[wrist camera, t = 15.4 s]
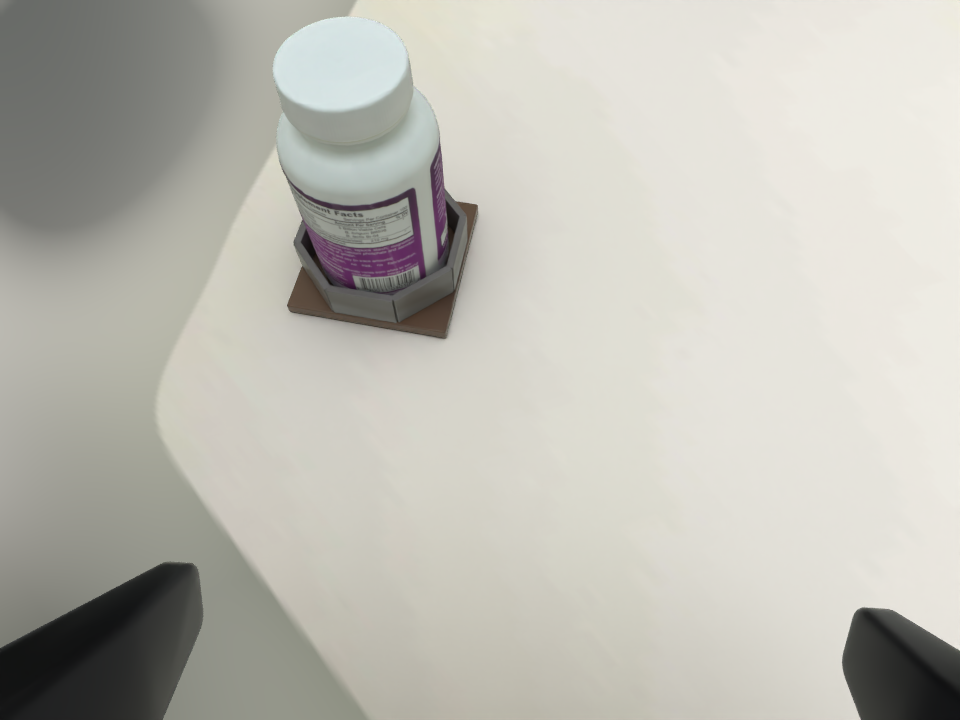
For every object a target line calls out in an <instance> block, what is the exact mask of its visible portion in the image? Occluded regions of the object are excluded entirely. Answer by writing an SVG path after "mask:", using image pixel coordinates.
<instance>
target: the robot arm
mask: <svg viewBox="0 0 960 720" xmlns="http://www.w3.org/2000/svg"><path fill="white" fill-rule="evenodd" d="M202 621H203V605H202V596H201V587H200V579H199V572H198V569H197V567H196V566H195V565H194V564H193V563H184V562H164V563H162V564H160V565H158V566H156V567H154V568H152V569H150V570H148V571H146V572H145V573H143V574H141V575H139V576H137V577H135V578H133V579H131V580H129V581H127V582H125V583H124V584H122V585H120V586H118V587H116V588H114V589H112V590H110V591H108V592H106V593H104V594H102V595H101V596H99V597H97V598H95V599H93V600H91V601H89V602H88V603H85V604H83V605H81V606H80V607H78V608H76V609H74V610H72V611H70V612H68V613H67V614H64V615H62V616H60V617H59V618H57V619H55V620H53V621H51V622H49V623H47V624H45V625H43V626H41V627H39V628H37V629H36V630H34V631H32V632H30V633H28V634H26V635H24V636H22V637H21V638H19V639H17V640H15V641H13V642H11V643H9V644H7V645H5V646H3V647H1V648H0V720H163V718H164V715H165V713H166V710H167V708H168V705H169V703H170V701H171V698H172V696H173V694H174V691H175V689H176V687H177V684H178V682H179V680H180V677H181V675H182V672H183V670H184V668H185V665H186V663H187V661H188V658H189V656H190V653H191V651H192V649H193V646H194V644H195V641H196V639H197V637H198V634H199V632H200V629H201V626H202ZM842 666H843V672H844V676H845V679H846V681H847V684H848V687H849V689H850V692H851V695H852V697H853V700H854V703H855V705H856V708H857V711H858V713H859V716H860V719H861V720H960V651H959V650H958V649H956V648H954V647H953V646H951V645H949V644H948V643H946V642H944V641H943V640H941V639H939V638H938V637H936V636H934V635H933V634H931V633H930V632H928V631H926V630H925V629H923V628H921V627H920V626H918V625H916V624H915V623H913V622H911V621H910V620H908V619H906V618H905V617H903V616H902V615H900V614H898V613H897V612H895V611H893V610H889V609H879V608H860V609H858V610H857V611H856V612H855V613H854V616H853V619H852V622H851V626H850V630H849V634H848V637H847V641H846V645H845V649H844V652H843V658H842Z"/></svg>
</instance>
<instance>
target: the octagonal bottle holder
mask: <svg viewBox="0 0 960 720" xmlns="http://www.w3.org/2000/svg"><path fill="white" fill-rule="evenodd" d="M444 191H445V202H446V213H447V226H448V239H449V252H448V258H447V261H446V264H445V267H443V268H441V269H440V270H438V271H436V272H434V273H432V274H430V275H429V276H427V277H425V278H423V279H421V280H420V281H418V282H416V283H414V284H412V285H410V286H409V287H407V288H405V289H403V290H401V291H399V292H398V293H396V294H394V295H392V296H391V295H385V294H379V293H373V292H367V291H361V290H355V289H349V288H343V287H337V286H334V285H333V284H332V283H331V282H330V280H329V279H328V277H327V275H326V274H325V272H324V270H323V268H322V265H321V263H320V261H319V258H318V256H317V254H316V251H315V249H314V247H313V244H312V242H311V239H310V237H309V234H308V232H307V229H306V227H305V224H304V221H303V220H302V222H301V225H300V227H299V230H298V232H297V235H296V237H295V240H294V247H295V249H296V251H297V254H298V256H299V258H300V261H301V263H302V268H301V270H300V273H299V276H298V278H297V281H296V283H295V286H294V289H293V291H292V294H291V296H290V299H289V302H288V304H287V307H288V308H289V310H290V311H291V312H296V313H302V314H308V315H314V316H319V317H325V318H331V319H337V320H343V321H348V322H354V323H360V324H366V325H372V326H377V327H383V328H389V329H395V330H401V331H406V332H412V333H418V334H424V335H430V336H435V337H441V338H446V336H447V332H448V329H449V325H450V321H451V317H452V313H453V309H454V305H455V301H456V297H457V293H458V289H459V285H460V281H461V277H462V273H463V269H464V265H465V261H466V257H467V253H468V249H469V245H470V241H471V237H472V233H473V229H474V225H475V221H476V217H477V213H478V205H476V204H469V203H463V202H456V201H455V200H454V199H453V198H452V197H451V196H450V194H449V193H448V192H447V191H446V190H445V188H444Z"/></svg>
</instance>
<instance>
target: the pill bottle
mask: <svg viewBox="0 0 960 720" xmlns="http://www.w3.org/2000/svg"><path fill="white" fill-rule="evenodd" d="M273 78H274V82H275V85H276V88H277V92H278V95H279V98H280V102H281V107H282V110H283V113H282V115H281V117H280V120H279V124H278V127H277V134H276V144H277V152H278V156H279V161H280V164H281V167H282V170H283V172H284V174H285V176H286V178H287V180H288V183H289V186H290V188H291V191H292V194H293V196H294V199H295V201H296V203H297V206H298V208H299V211H300V214H301V216H302V219H303V221H304V224H305V227H306V229H307V232H308V234H309V237H310V239H311V242H312V244H313V247H314V249H315V251H316V254H317V256H318V258H319V261H320V263H321V265H322V268H323V270H324V272H325V274H326V275H327V277H328V279H329V280H330V282H331V283H332V284H333V285H334V286H337V287H343V288H349V289H355V290H361V291H367V292H373V293H379V294H385V295H391V296H392V295H394V294H396V293H398V292H399V291H401V290H403V289H405V288H407V287H409V286H410V285H412V284H414V283H416V282H418V281H420V280H421V279H423V278H425V277H427V276H429V275H430V274H432V273H434V272H436V271H438V270H440V269H441V268H443V267H445V264H446V261H447V258H448V252H449V239H448V226H447V213H446V202H445V191H444V177H443V166H442V154H441V146H440V132H439V126H438V123H437V119H436V116H435V113H434V111H433V109H432V107H431V105H430V104H429V102H428V100H427V99H426V98H425V96H424V95H423V94H422V93H421V92H420V91H419V90H418V89H417V88H416V87H415V86H413V79H412V73H411V67H410V61H409V55H408V52H407V49H406V46H405V44H404V42H403V41H402V39H401V38H400V37H399V36H398V35H397V34H396V33H395V32H394V31H393V30H391V29H390V28H388V27H387V26H385V25H383V24H381V23H380V22H376V21H374V20H370V19H365V18H360V17H335V18H330V19H325V20H321V21H318V22H316V23H313V24H310V25H308V26H306V27H304V28H302V29H300V30H298V31H297V32H296V33H294V34H293V35H291V36H290V37H289V38H288V39H287V40H286V41H285V42H284V43H283V44H282V45H281V47H280V48H279V50H278V52H277V53H276V56H275V59H274V63H273Z"/></svg>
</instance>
